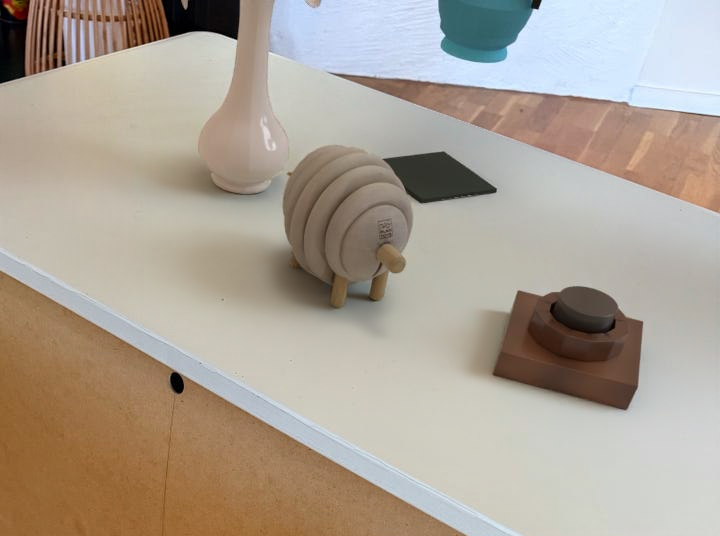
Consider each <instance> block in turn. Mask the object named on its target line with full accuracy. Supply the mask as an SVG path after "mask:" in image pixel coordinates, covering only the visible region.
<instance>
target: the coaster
mask: <svg viewBox="0 0 720 536" xmlns="http://www.w3.org/2000/svg"><path fill="white" fill-rule="evenodd" d="M382 159H383V160H384V161H385V162H386V163H387V164H388V165H389V166H390V167H391V168H392V170H393V171H394V173H395V175H396V176H397V177H398V178H399V179H400V181H401V182H402V184H403V186H404V188H405V191H406V193H407V194H409V195H410V196H411V197H412V198H414V199H415V200H416V201H417V202H419V203H421V204H423V203H430V202H436V200H438V201H443V200H442V199H445V200H450V199H449V198H452V199H456V198H455V197H459V198H462V197H461V196H466V197H469V196H468V195H472V196H476V195H475V194H479V195H485V193H486V194H491V193H496V192H497V190H498V188H497V187H495V185H493V184H491V183H490V182H489V181H487V180H486V179H484V178H483V177H481V176H480V175H479V174H477V173H476V172H474V171H473V170H472V169H470V168H468V167H467V166H466V165H464V164H462V163H461V162H460V161H458V160H457V159H456V158H454V157H453V156H452V155H450V154H449V153H447V152H446V151H444V150H443V151H435V152H426V153H418V154H409V155H400V156H391V157H385V158H382Z"/></svg>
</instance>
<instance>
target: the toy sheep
mask: <svg viewBox="0 0 720 536" xmlns="http://www.w3.org/2000/svg"><path fill="white" fill-rule="evenodd" d="M383 159H384V158H381V157H380V156H378V155H376V154H373V153H370V152H367V151H366V150H364V149H361V148H358V147H355V146H345V145H342V144H329V145H324V146H321V147H319V148H317V149H315V150H313V151H311V152H310V153H308V154H307V155H306V156H305V157H303V158H302V159H301V160H300V161H299V162H298V164H297V165H296V166H295V168H294V169H293V170H292V171H287V173H286V176H289V178H288V179H287V182H286V185H285V188H284V191H283V197H282V212H283V216H284V217H283V219H284V220H283V223H284V231H285V235H286V239H287V242H288V244H289V245H290V247H291V254H290V265H291V266H292V267H294V268H302V269H303V270H304V271H305V272H307V273H308V274H310V275H311V276H314V277H316V278H318V279H319V280H320V281H322V282H324V283H326V284H328V285H332V291H331V295H330V305H331V307H333V308H342V307H344V305H345V303H346V299H347V295H348V289H349V286H350V285H354V284H357V283H360V282H366V281H369V280H371V283H370V284H371V285H370V290H369V297H370V299H372V300H374V301H381V300H382V299H383V298H384V295H385V291H386V288H387V281H388V276H389V272H390V273H391V274H394V275H397V274H401V273H402V272H403V271H404V270H405V268H406V265H407V260H406V258H405V257H404V256H403V255H402V254H403V252H404V251H405V250H406V249H405V248H406V247H407V244H408V242H409V240H410V237H411V234H412V230H413V225H414V212H413V208H412V203H411V201H410V199H409V197H408V193H407V192H406V191H405V188H404V186H403V184H402V182H401V181H400V179H399V178H398V177H397V176H396V175H395V173H394V171H393V170H392V168H391V167H390V166H389V165H388V164H387V163H386V162H385V161H384V160H383Z"/></svg>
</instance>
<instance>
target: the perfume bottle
mask: <svg viewBox="0 0 720 536" xmlns="http://www.w3.org/2000/svg"><path fill="white" fill-rule="evenodd" d="M531 4H532V0H437V5H438V6H437V7H438V15H439V19H440V23H439V29H440V30H441V32H442V33H443V34H444V36H443V38H442V39H441V41H440V44H439V45H440V46H439V47H440V49H441V50H442V51H443V52H444V53H446V54H447V55H449V56H452V57H454V58H456V59H460V60H463V61H468V62H471V63H472V62H473V63H478V64H479V63H480V64H482V63H483V64H494V63H495V64H497V63H500V62H503V61H505V60H506V59H507V58H508V48H507V47H509V46H511V45H513V44H514V43H516V42H517V39H518V36H519V34H520V33H521V32H522V30H523V29H524V28H525V26H526V25H527V24H528V21H529V20H530V18H531V17H532V14H533V12H534V9H531Z"/></svg>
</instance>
